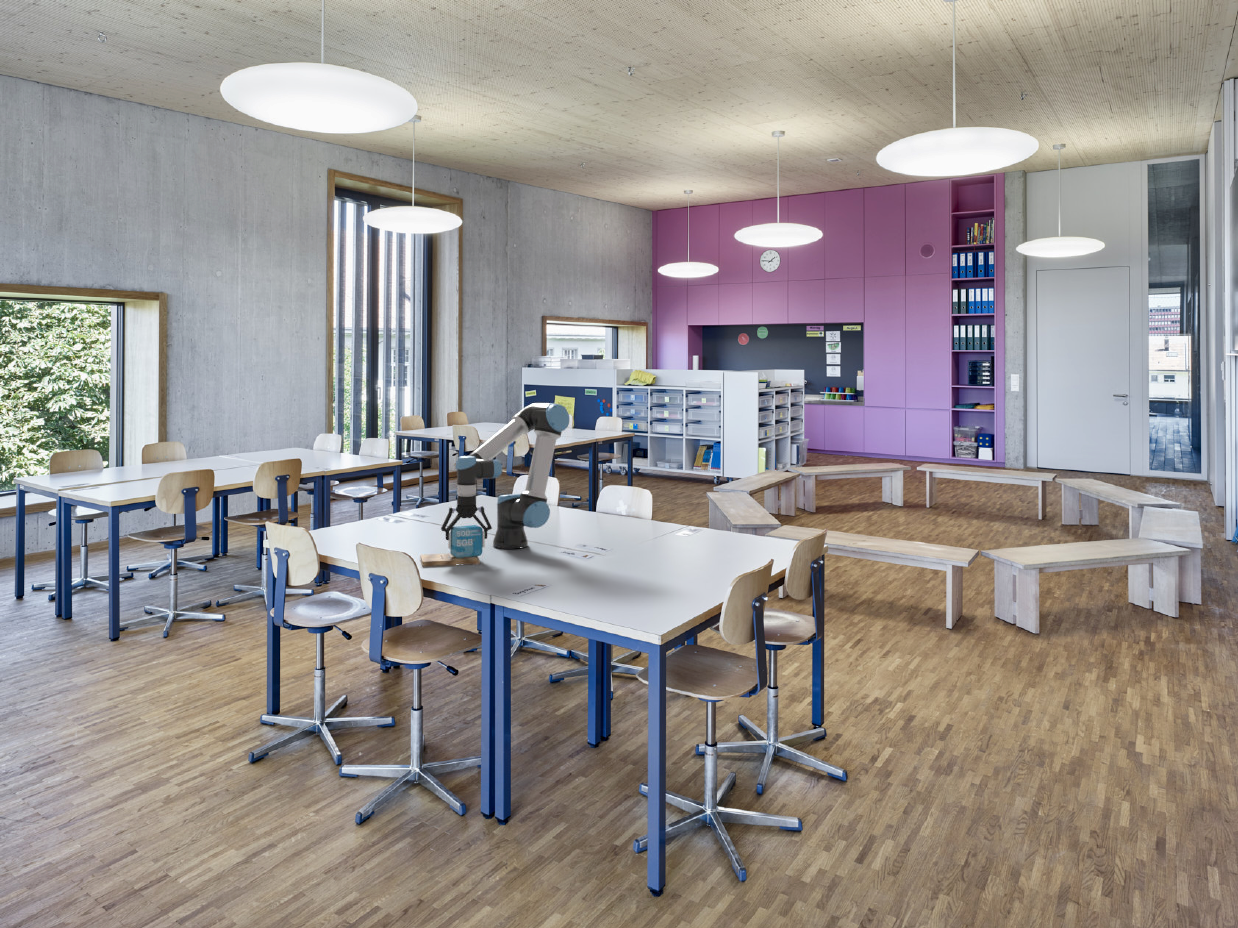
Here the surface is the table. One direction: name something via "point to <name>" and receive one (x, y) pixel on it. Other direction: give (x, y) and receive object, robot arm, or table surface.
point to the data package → (466, 541)
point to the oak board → (446, 560)
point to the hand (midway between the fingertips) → (466, 547)
